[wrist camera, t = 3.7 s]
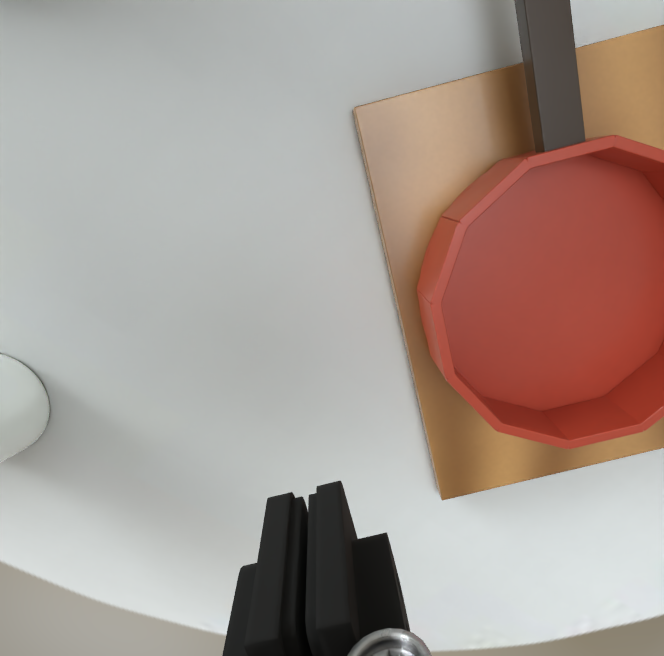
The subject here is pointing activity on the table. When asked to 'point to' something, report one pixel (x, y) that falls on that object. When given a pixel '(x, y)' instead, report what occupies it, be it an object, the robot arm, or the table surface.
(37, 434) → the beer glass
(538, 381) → the skillet
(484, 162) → the board
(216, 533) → the table surface
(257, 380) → the table surface
